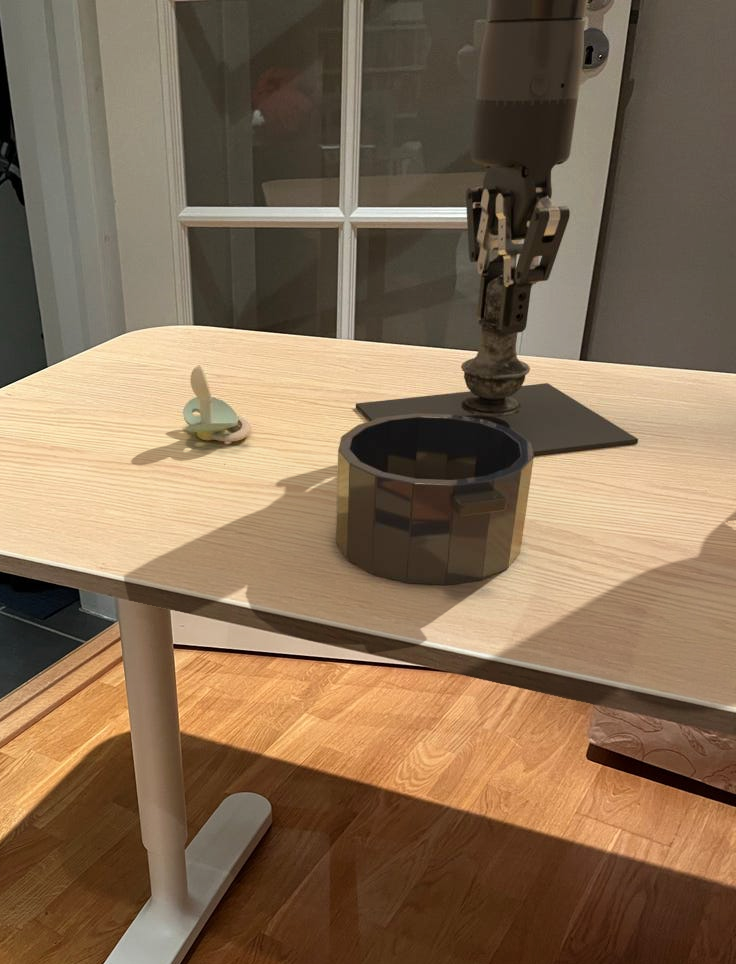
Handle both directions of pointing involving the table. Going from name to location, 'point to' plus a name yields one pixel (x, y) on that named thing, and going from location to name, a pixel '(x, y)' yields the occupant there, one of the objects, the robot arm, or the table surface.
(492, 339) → the salt shaker
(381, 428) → the pot
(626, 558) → the table surface
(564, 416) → the mat
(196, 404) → the pacifier
